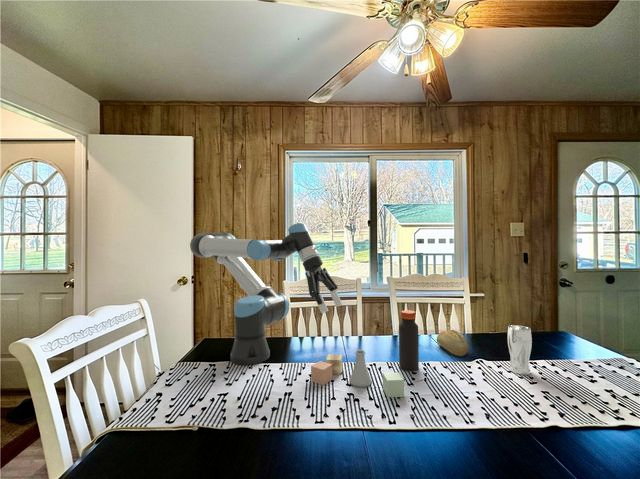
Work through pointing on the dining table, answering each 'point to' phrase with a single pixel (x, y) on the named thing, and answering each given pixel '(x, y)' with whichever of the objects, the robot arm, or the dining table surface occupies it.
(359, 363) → the flask
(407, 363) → the bottle
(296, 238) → the robot arm
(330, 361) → the maple block
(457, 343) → the bread roll
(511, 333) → the beer glass
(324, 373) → the terracotta block
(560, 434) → the dining table surface
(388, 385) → the sage block
